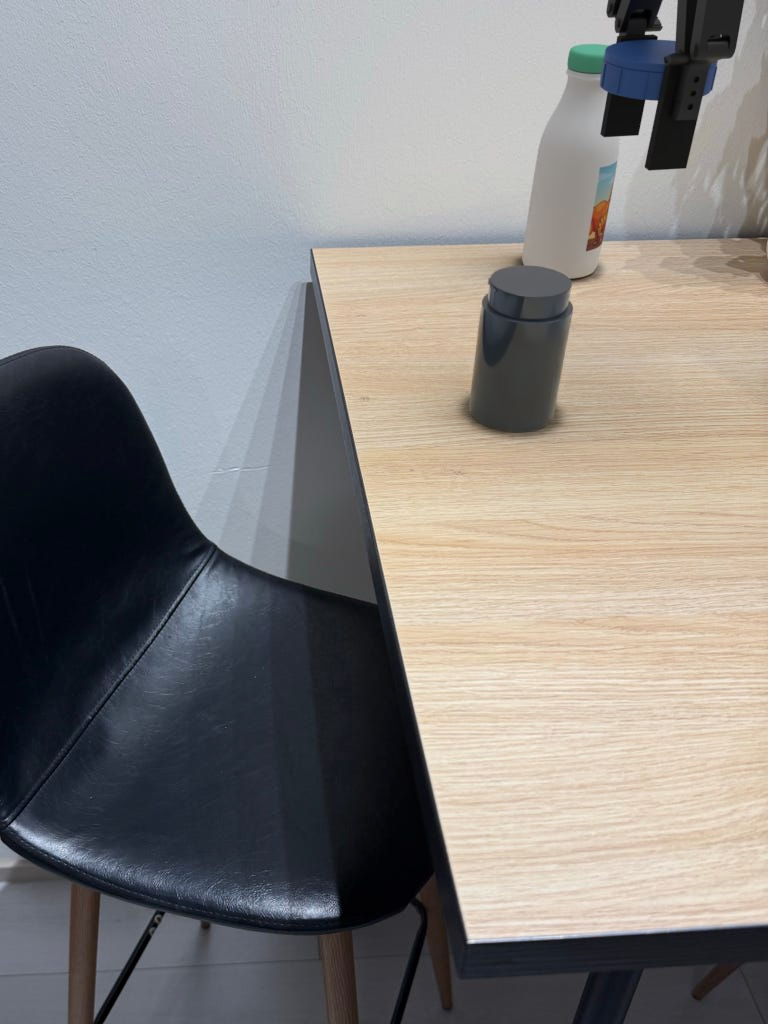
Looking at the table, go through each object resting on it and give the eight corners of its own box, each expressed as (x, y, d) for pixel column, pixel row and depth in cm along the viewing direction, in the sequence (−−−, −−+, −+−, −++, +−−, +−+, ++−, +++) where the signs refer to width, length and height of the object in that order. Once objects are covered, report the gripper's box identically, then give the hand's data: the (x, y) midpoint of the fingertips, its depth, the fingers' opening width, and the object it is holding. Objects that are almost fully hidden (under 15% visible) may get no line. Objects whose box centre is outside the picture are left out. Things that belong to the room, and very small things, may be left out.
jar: (528, 386, 87) (549, 258, 80) (569, 424, 82) (595, 292, 75) (454, 398, 86) (469, 269, 79) (492, 438, 81) (511, 304, 74)
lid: (579, 89, 72) (585, 53, 70) (630, 69, 76) (637, 34, 75) (681, 107, 68) (689, 69, 67) (729, 84, 72) (737, 49, 71)
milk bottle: (561, 287, 103) (599, 62, 90) (505, 263, 108) (534, 46, 95) (612, 269, 107) (657, 49, 93) (556, 247, 111) (591, 35, 98)
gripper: (597, -270, 67) (543, 115, 82) (750, -275, 52) (650, 199, 67) (707, -271, 68) (634, 111, 83) (889, -276, 53) (759, 193, 68)
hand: (641, 150), depth 75 cm, fingers closed on lid, 7 cm apart
